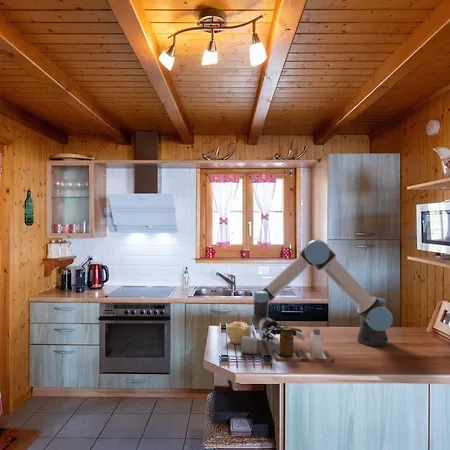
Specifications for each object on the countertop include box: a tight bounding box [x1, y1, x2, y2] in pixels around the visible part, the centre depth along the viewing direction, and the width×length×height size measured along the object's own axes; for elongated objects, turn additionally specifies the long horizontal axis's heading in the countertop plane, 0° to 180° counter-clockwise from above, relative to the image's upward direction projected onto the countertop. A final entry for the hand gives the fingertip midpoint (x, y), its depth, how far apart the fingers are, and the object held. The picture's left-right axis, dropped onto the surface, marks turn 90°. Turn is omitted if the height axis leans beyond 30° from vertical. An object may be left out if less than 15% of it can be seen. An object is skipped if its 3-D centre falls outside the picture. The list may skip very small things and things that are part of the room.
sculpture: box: [226, 321, 252, 346], centre depth 182 cm, size 12×12×11 cm
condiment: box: [276, 326, 298, 358], centre depth 160 cm, size 7×8×12 cm
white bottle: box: [309, 328, 324, 358], centre depth 160 cm, size 6×6×12 cm
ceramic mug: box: [240, 336, 261, 355], centre depth 168 cm, size 11×8×8 cm
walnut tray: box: [272, 348, 335, 363], centre depth 160 cm, size 25×12×2 cm, turn 90°
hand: (291, 339), depth 157 cm, fingers open, 13 cm apart
